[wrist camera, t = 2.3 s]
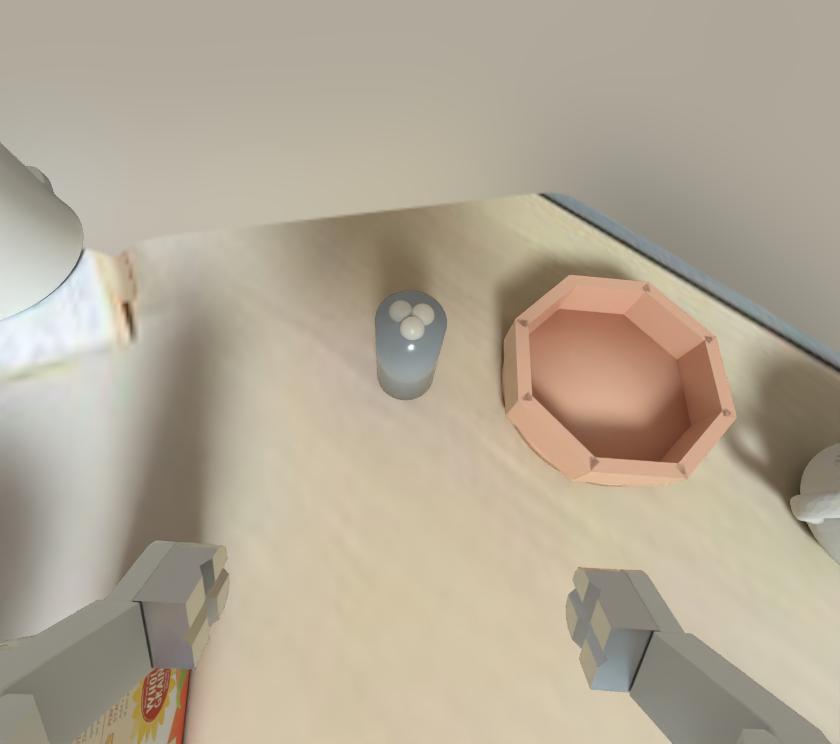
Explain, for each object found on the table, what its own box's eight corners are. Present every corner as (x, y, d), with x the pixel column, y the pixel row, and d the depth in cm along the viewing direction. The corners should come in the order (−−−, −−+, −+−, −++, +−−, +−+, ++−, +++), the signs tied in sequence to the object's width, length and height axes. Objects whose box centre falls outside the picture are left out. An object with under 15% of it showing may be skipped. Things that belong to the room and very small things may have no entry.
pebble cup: (374, 397, 34) (371, 343, 26) (379, 346, 36) (378, 280, 28) (431, 402, 34) (447, 349, 26) (434, 351, 36) (449, 286, 28)
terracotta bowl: (503, 478, 32) (521, 466, 28) (499, 300, 39) (513, 269, 35) (708, 493, 33) (754, 483, 29) (670, 315, 40) (703, 287, 36)
